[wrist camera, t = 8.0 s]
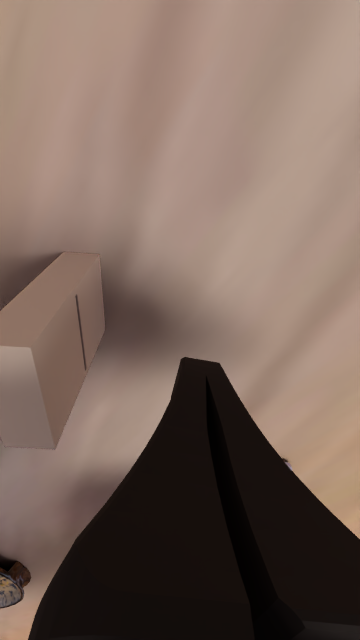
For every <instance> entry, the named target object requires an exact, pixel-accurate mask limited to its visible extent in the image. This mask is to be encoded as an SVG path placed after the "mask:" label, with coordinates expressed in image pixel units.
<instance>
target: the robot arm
mask: <svg viewBox="0 0 360 640" xmlns="http://www.w3.org/2000/svg"><path fill="white" fill-rule="evenodd" d="M28 640H360V539H359V538H358V537H357V536H356V535H355V534H353V533H352V532H351V531H350V530H349V529H348V528H347V527H346V526H345V525H344V524H343V523H342V522H341V521H340V520H339V519H338V518H337V517H336V516H335V515H333V514H332V513H331V512H330V511H329V510H328V509H327V508H326V507H325V506H324V505H323V504H322V503H321V502H320V501H319V500H318V498H317V497H316V496H315V495H314V494H313V493H312V492H311V491H310V490H309V489H308V488H307V487H306V486H305V485H304V483H303V482H302V481H301V480H300V479H299V478H298V477H297V476H296V475H295V474H294V472H293V471H292V467H291V464H290V463H288V462H284V461H283V459H282V458H281V457H280V456H279V455H278V453H277V452H276V451H275V450H274V448H273V447H272V446H271V445H270V443H269V442H268V441H267V439H266V438H265V436H264V435H263V434H262V432H261V431H260V429H259V428H258V426H257V425H256V424H255V422H254V421H253V419H252V418H251V416H250V415H249V413H248V411H247V410H246V408H245V407H244V405H243V403H242V402H241V400H240V398H239V397H238V395H237V393H236V392H235V390H234V388H233V386H232V385H231V383H230V381H229V379H228V378H227V376H226V374H225V372H224V370H223V368H222V367H221V365H220V363H217V362H211V361H205V360H199V359H194V358H188V357H184V358H182V359H181V361H180V365H179V369H178V373H177V376H176V380H175V384H174V388H173V392H172V395H171V400H170V403H169V405H168V407H167V409H166V411H165V413H164V415H163V417H162V419H161V421H160V423H159V425H158V427H157V428H156V430H155V432H154V434H153V435H152V437H151V439H150V440H149V442H148V444H147V445H146V447H145V449H144V450H143V452H142V453H141V455H140V456H139V458H138V459H137V461H136V462H135V464H134V465H133V467H132V468H131V470H130V471H129V473H128V474H127V475H126V477H125V478H124V479H123V481H122V482H121V483H120V485H119V486H118V488H117V489H116V490H115V492H114V493H113V494H112V496H111V497H110V498H109V500H108V501H107V502H106V503H105V505H104V506H103V507H102V508H101V510H100V511H99V512H98V513H97V514H96V516H95V517H94V518H93V519H92V520H91V522H90V523H89V524H88V525H87V526H86V528H85V529H84V530H83V531H82V533H81V534H80V535H79V536H78V537H77V539H76V540H75V542H74V543H73V545H72V547H71V549H70V551H69V552H68V554H67V556H66V557H65V559H64V560H63V562H62V564H61V565H60V567H59V569H58V570H57V572H56V574H55V576H54V577H53V579H52V581H51V583H50V584H49V586H48V588H47V590H46V592H45V594H44V596H43V598H42V600H41V602H40V605H39V607H38V610H37V612H36V615H35V618H34V621H33V624H32V628H31V631H30V635H29V638H28Z"/></svg>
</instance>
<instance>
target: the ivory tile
mask: <svg viewBox="0 0 360 640" xmlns="http://www.w3.org/2000/svg"><path fill="white" fill-rule="evenodd" d="M104 332H105V316H104V303H103V291H102V278H101V265H100V254H89V253H74V252H63V253H62V254H61V255H60V256H59V257H58V258H57V259H55V260H54V261H53V262H52V263H51V264H50V265H49V266H48V267H47V268H46V269H45V270H44V271H43V272H41V273H40V274H39V275H38V276H37V277H36V278H35V279H34V280H33V281H32V282H31V283H30V284H29V285H28V286H26V287H25V288H24V289H23V290H22V291H21V292H20V293H19V294H18V295H17V296H16V297H15V298H14V299H13V300H11V301H10V302H9V303H8V304H7V305H6V306H5V307H4V308H3V309H2V310H1V311H0V437H1V440H2V442H3V445H4V447H19V448H38V449H56V446H57V444H58V441H59V439H60V437H61V434H62V432H63V430H64V427H65V425H66V422H67V420H68V418H69V415H70V413H71V410H72V408H73V406H74V403H75V401H76V398H77V396H78V394H79V391H80V389H81V387H82V384H83V382H84V379H85V377H86V375H87V372H88V370H89V367H90V365H91V363H92V360H93V358H94V355H95V353H96V351H97V348H98V346H99V344H100V341H101V339H102V336H103V334H104Z"/></svg>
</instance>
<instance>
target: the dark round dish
mask: <svg viewBox="0 0 360 640" xmlns="http://www.w3.org/2000/svg"><path fill="white" fill-rule="evenodd" d="M30 579H31V575H30V572H29V571H28V570H27V568H23V565H22V564H21V563H20V562H18V561H16V563H15V564H14V565H13V567H12V568H11V569H10V570H9V572H7V571H5V570H4V569H2V568H0V608H5V607H9V606H12V605H15V604H17V603H18V602H20V601H21V600H22V599H23V596H24V590H23V587H24V586H26V585H27V584H28V583H29V582H30Z"/></svg>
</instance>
